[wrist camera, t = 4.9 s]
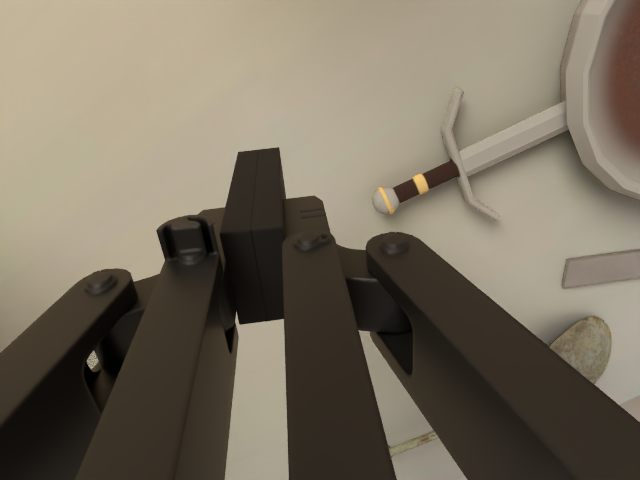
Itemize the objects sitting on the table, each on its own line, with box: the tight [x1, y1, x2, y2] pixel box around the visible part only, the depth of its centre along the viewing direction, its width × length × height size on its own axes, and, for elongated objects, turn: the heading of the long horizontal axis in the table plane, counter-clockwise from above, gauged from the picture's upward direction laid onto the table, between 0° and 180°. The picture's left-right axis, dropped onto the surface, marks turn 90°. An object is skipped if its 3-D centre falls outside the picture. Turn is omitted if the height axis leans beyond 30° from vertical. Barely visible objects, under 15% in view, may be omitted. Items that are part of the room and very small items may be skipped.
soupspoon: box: [388, 316, 611, 458], centre depth 34 cm, size 22×3×7 cm
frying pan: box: [373, 0, 640, 221], centre depth 24 cm, size 17×3×28 cm
